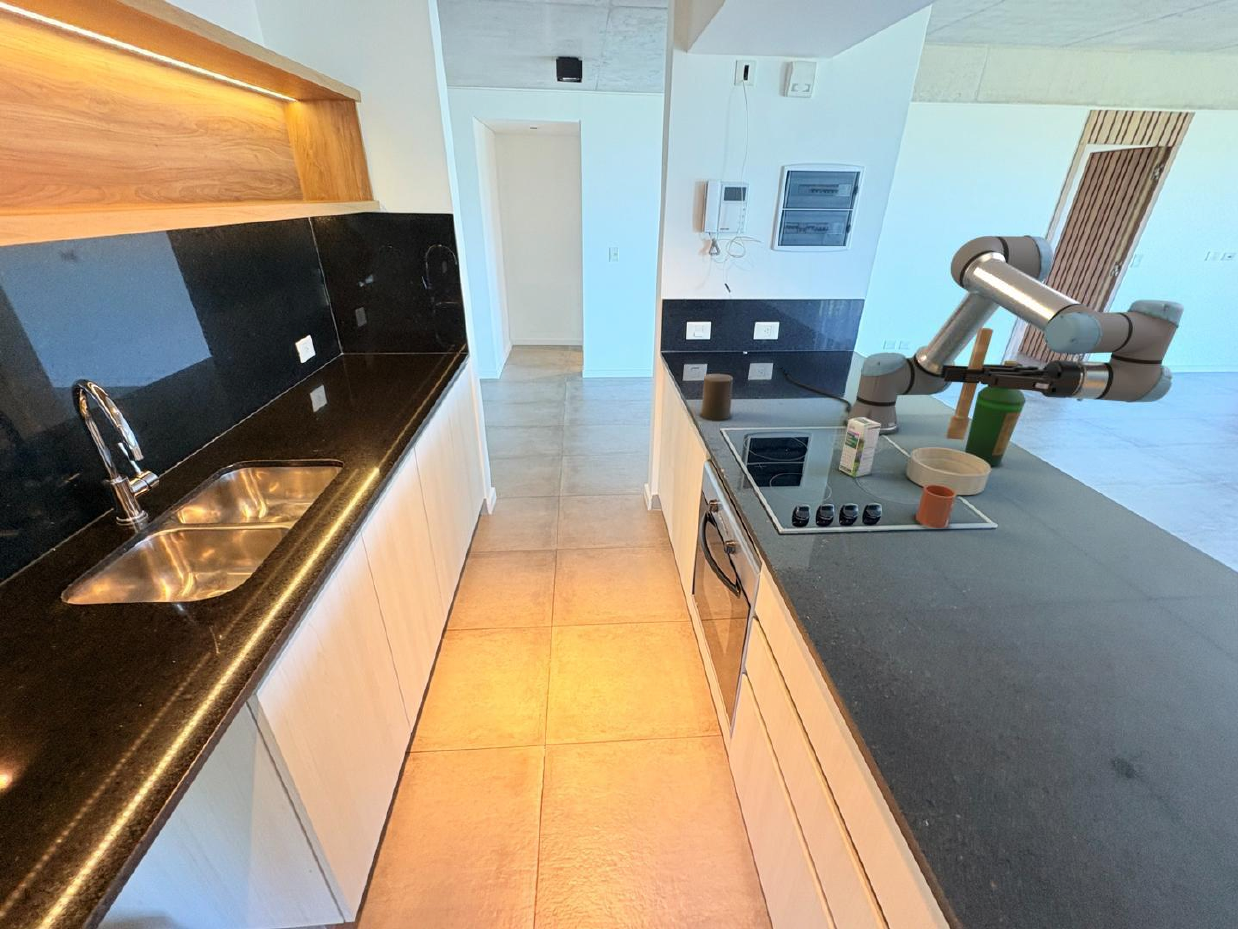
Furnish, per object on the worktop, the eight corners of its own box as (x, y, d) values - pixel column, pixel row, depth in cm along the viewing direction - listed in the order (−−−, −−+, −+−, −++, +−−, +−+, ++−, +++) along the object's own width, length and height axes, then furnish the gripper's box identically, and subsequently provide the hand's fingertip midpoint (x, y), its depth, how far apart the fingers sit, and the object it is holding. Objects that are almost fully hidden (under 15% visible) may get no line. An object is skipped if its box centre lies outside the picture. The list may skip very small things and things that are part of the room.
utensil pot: (908, 517, 120) (917, 485, 116) (933, 514, 121) (941, 483, 118) (928, 531, 114) (937, 499, 111) (953, 528, 115) (963, 496, 112)
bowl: (890, 470, 142) (895, 450, 140) (947, 464, 145) (952, 444, 143) (939, 501, 127) (945, 478, 124) (1001, 494, 130) (1008, 472, 127)
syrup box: (837, 469, 143) (847, 419, 137) (854, 465, 145) (864, 415, 139) (854, 478, 138) (864, 426, 132) (870, 474, 140) (882, 422, 134)
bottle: (1011, 470, 142) (1046, 368, 130) (967, 467, 144) (998, 366, 132) (994, 455, 151) (1025, 358, 140) (953, 452, 153) (980, 356, 142)
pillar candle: (717, 422, 176) (721, 378, 170) (695, 415, 183) (698, 373, 176) (735, 416, 182) (739, 373, 176) (713, 409, 188) (716, 368, 182)
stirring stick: (947, 439, 116) (978, 329, 106) (944, 436, 118) (974, 327, 108) (964, 440, 116) (997, 330, 106) (961, 437, 118) (993, 328, 107)
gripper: (1084, 408, 102) (951, 400, 107) (1046, 387, 116) (928, 380, 120) (1099, 370, 99) (961, 364, 104) (1058, 353, 112) (937, 347, 117)
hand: (944, 373), depth 112 cm, fingers closed on stirring stick, 2 cm apart
